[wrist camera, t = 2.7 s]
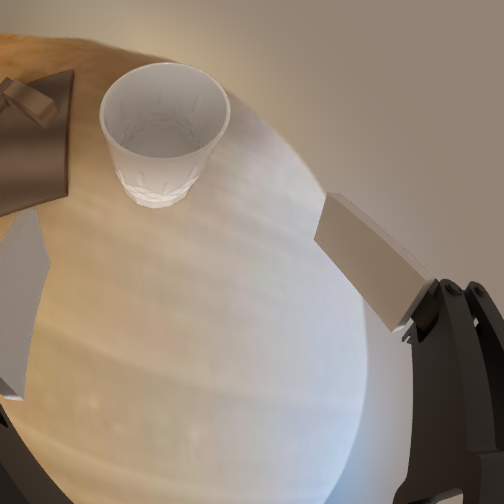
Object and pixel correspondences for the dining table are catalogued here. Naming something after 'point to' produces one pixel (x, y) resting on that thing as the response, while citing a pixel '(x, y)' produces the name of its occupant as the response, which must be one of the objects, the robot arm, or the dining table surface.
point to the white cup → (162, 129)
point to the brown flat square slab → (33, 141)
